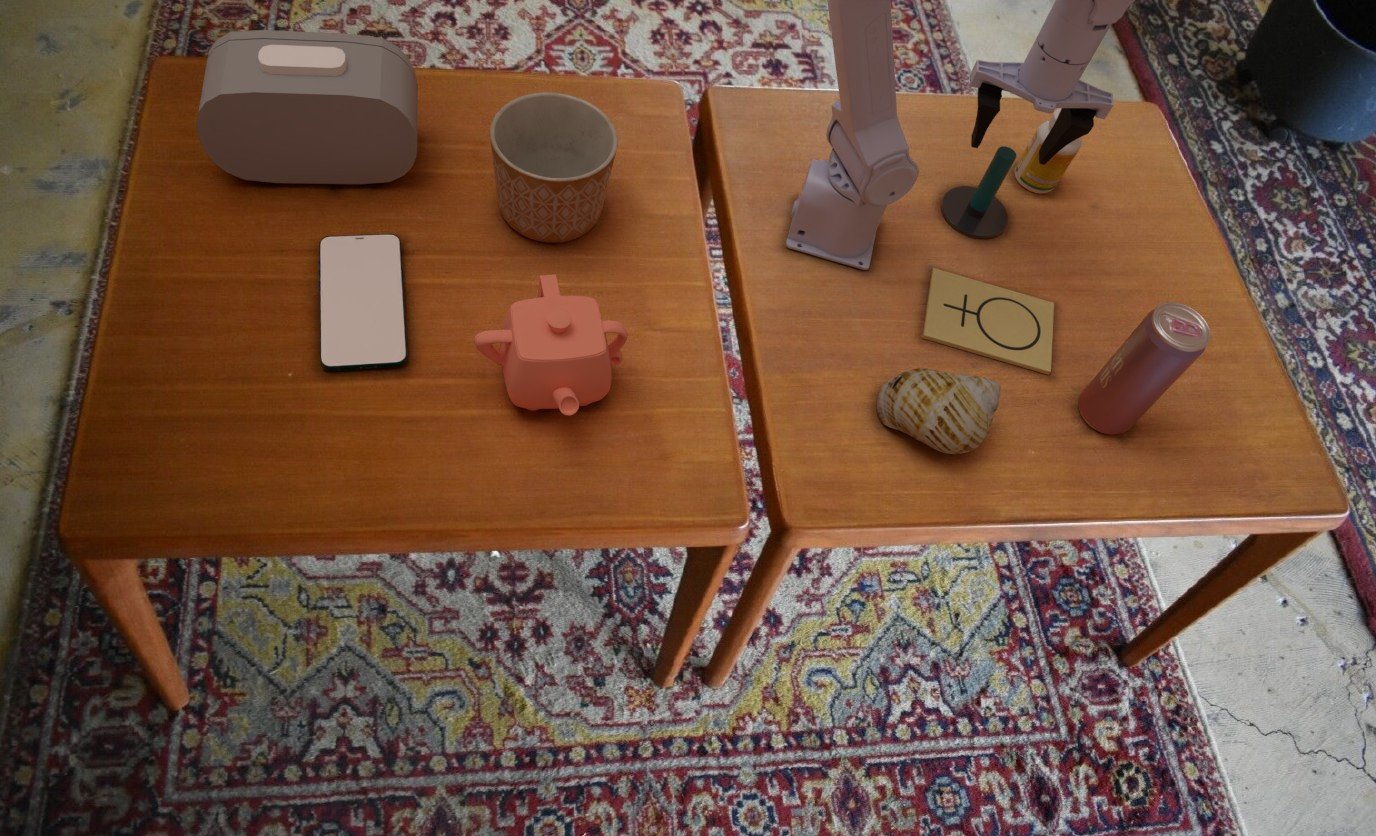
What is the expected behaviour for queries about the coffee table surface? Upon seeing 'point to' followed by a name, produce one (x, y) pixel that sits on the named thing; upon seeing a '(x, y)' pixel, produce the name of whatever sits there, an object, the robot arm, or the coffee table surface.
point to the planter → (552, 164)
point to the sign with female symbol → (989, 321)
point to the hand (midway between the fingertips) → (1008, 149)
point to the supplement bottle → (1049, 174)
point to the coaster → (968, 225)
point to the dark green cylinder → (991, 181)
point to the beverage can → (1144, 367)
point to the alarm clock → (309, 108)
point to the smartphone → (361, 302)
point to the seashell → (940, 408)
